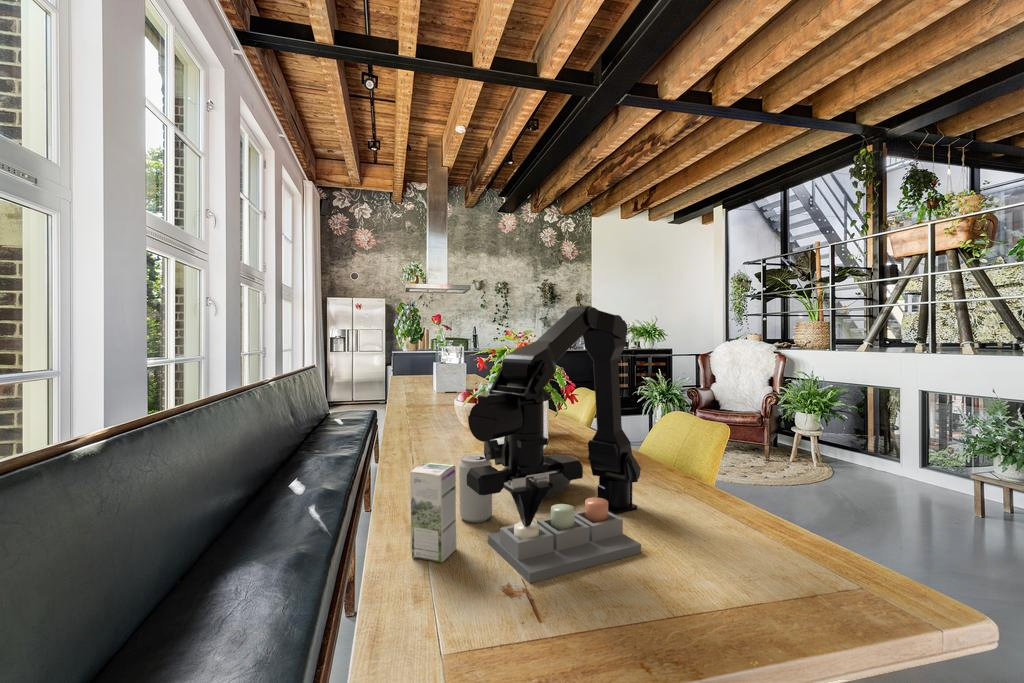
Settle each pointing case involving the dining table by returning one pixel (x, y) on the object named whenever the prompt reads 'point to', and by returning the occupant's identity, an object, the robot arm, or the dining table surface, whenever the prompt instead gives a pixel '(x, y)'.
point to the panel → (564, 547)
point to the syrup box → (433, 511)
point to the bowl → (555, 481)
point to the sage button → (562, 517)
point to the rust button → (596, 510)
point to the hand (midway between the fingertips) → (526, 525)
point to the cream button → (526, 530)
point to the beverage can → (470, 501)
